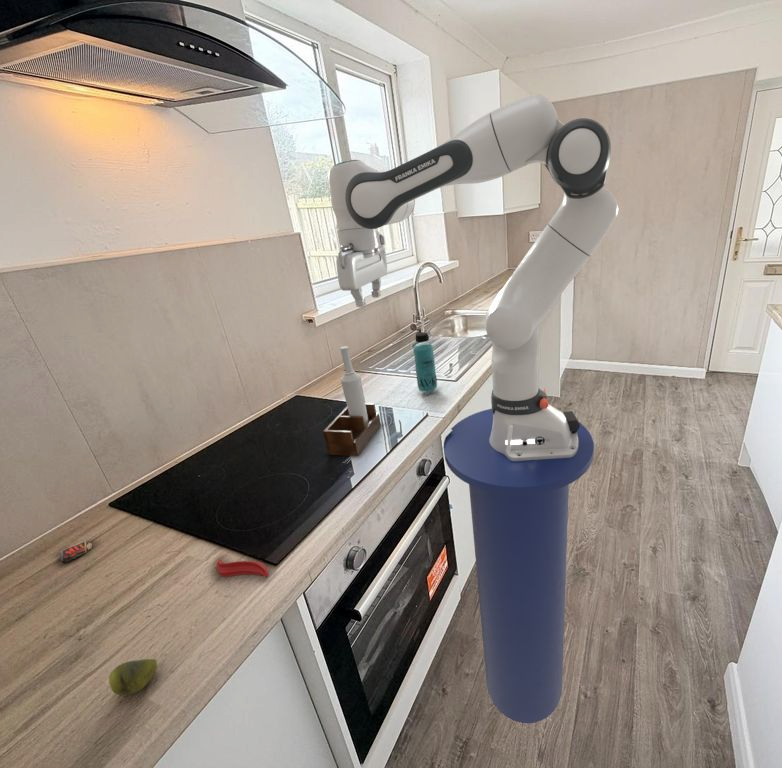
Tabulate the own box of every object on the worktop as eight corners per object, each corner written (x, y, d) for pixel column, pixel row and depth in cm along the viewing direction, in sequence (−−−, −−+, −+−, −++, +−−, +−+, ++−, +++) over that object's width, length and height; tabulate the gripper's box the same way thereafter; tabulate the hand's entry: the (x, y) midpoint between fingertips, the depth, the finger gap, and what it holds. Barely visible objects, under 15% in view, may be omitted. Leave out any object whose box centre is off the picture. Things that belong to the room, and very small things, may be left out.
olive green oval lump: (113, 693, 56) (97, 670, 53) (152, 661, 59) (138, 638, 57) (128, 711, 53) (111, 688, 51) (168, 676, 57) (154, 653, 55)
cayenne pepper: (208, 568, 74) (204, 560, 73) (231, 550, 78) (228, 542, 77) (251, 592, 69) (248, 584, 68) (274, 571, 72) (271, 563, 72)
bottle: (375, 429, 115) (358, 345, 105) (361, 438, 112) (343, 352, 101) (362, 425, 118) (345, 343, 108) (348, 434, 114) (329, 349, 104)
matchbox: (65, 564, 78) (64, 563, 77) (56, 554, 80) (55, 552, 80) (95, 548, 81) (94, 546, 81) (86, 538, 84) (85, 536, 84)
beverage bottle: (414, 392, 136) (406, 334, 128) (430, 385, 140) (423, 329, 132) (426, 398, 132) (418, 338, 123) (442, 391, 135) (436, 332, 127)
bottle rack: (381, 425, 118) (377, 403, 115) (358, 456, 104) (353, 432, 101) (354, 424, 119) (350, 402, 117) (328, 454, 106) (322, 431, 103)
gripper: (352, 246, 84) (363, 312, 90) (387, 236, 103) (395, 291, 108) (324, 248, 86) (337, 313, 91) (364, 238, 104) (373, 292, 110)
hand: (369, 301), depth 100 cm, fingers open, 8 cm apart
